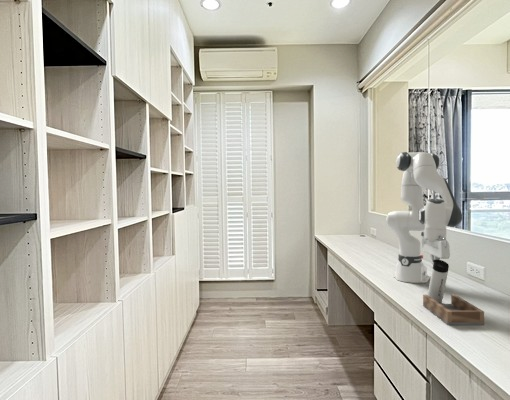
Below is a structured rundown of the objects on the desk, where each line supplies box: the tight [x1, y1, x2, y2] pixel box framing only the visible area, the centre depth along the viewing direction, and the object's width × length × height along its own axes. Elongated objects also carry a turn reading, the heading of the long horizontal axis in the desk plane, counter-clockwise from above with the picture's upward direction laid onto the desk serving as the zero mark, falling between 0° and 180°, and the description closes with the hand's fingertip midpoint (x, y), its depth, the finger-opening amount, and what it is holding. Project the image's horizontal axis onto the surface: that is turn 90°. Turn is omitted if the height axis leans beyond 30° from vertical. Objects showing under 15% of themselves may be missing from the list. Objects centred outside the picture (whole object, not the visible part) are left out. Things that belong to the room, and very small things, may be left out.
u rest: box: [422, 293, 485, 326], centre depth 155 cm, size 22×14×5 cm, turn 179°
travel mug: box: [427, 259, 450, 304], centre depth 167 cm, size 6×7×20 cm
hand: (435, 265), depth 169 cm, fingers closed
